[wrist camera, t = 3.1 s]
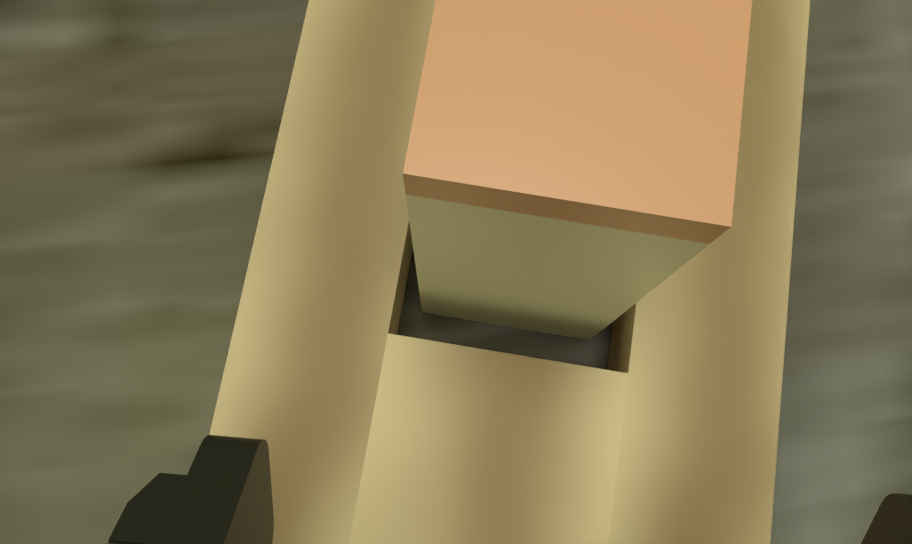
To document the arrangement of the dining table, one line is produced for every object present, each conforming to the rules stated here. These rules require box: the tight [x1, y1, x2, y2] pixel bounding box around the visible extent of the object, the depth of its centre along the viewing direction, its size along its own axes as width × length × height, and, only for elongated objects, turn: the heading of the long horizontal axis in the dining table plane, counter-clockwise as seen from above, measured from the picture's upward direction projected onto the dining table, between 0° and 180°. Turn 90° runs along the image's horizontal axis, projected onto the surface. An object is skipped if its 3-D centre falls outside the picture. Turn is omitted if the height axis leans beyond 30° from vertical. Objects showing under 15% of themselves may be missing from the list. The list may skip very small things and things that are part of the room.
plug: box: [403, 0, 752, 340], centre depth 18 cm, size 5×4×12 cm
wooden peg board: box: [209, 0, 810, 544], centre depth 23 cm, size 14×18×3 cm
